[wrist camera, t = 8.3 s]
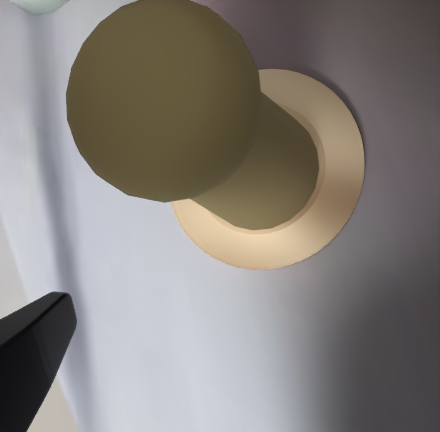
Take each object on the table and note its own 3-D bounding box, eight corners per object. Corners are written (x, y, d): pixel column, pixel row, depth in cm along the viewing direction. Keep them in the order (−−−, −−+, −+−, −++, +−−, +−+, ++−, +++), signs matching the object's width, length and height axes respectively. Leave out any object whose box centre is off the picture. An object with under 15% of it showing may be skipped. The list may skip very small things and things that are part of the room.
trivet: (344, 289, 18) (343, 291, 17) (156, 248, 21) (151, 247, 21) (381, 75, 18) (382, 70, 17) (189, 70, 21) (184, 66, 21)
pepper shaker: (248, 86, 19) (116, -92, 9) (347, 153, 17) (320, 23, 7) (178, 182, 20) (-10, 118, 10) (265, 256, 18) (139, 268, 8)
